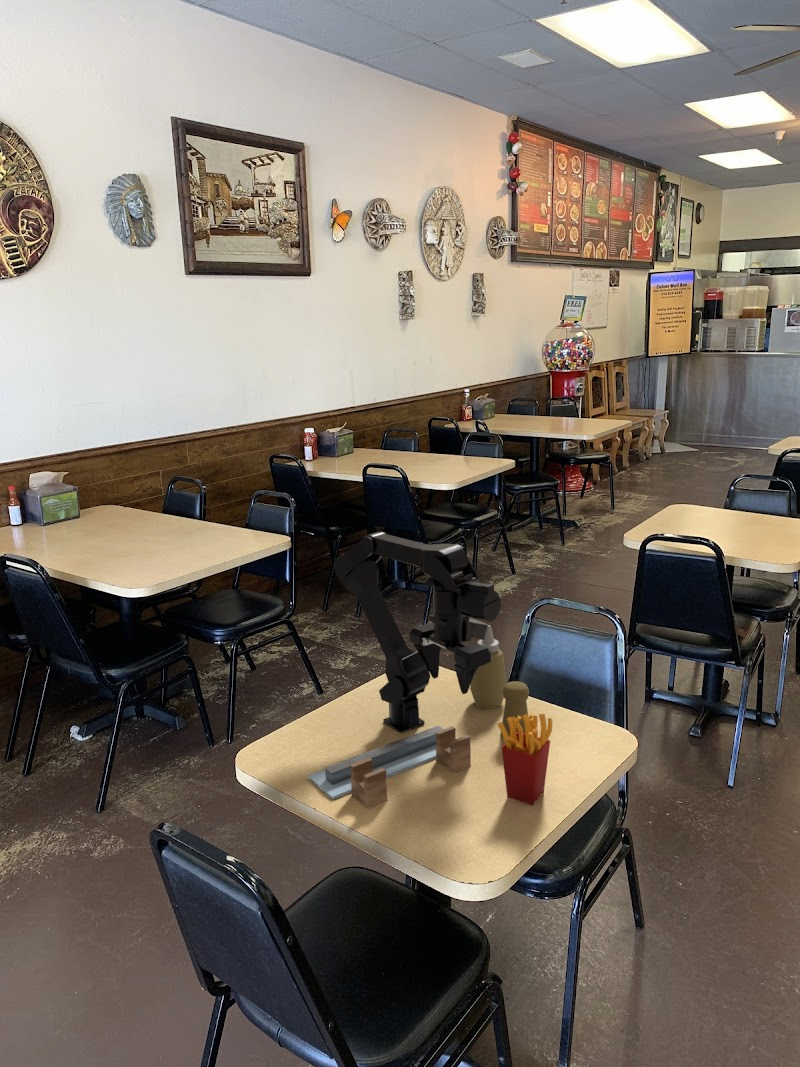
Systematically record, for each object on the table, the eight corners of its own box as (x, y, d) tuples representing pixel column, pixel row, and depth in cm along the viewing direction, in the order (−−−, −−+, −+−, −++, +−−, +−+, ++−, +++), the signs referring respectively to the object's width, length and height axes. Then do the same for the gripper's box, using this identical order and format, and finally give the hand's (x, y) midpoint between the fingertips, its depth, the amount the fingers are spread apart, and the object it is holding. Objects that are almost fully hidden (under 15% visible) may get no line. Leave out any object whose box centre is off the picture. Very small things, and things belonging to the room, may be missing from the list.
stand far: (436, 760, 152) (435, 732, 151) (452, 754, 155) (452, 726, 153) (454, 772, 148) (453, 743, 147) (470, 765, 150) (470, 736, 149)
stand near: (351, 795, 142) (350, 764, 141) (370, 787, 144) (369, 757, 143) (368, 808, 138) (366, 777, 136) (387, 800, 140) (386, 770, 138)
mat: (307, 778, 148) (307, 775, 148) (436, 729, 164) (436, 727, 164) (332, 799, 141) (332, 796, 141) (463, 747, 157) (463, 744, 157)
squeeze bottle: (510, 697, 178) (510, 621, 174) (502, 713, 171) (502, 634, 166) (475, 693, 181) (474, 618, 176) (466, 709, 173) (465, 631, 169)
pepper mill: (529, 727, 164) (530, 677, 162) (531, 741, 158) (532, 690, 156) (500, 726, 165) (500, 677, 162) (501, 741, 159) (500, 690, 156)
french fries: (536, 809, 136) (537, 729, 132) (492, 796, 140) (491, 718, 137) (555, 784, 143) (556, 708, 140) (512, 773, 147) (513, 698, 144)
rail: (332, 785, 144) (331, 773, 144) (325, 779, 146) (325, 767, 146) (445, 741, 159) (445, 730, 158) (438, 736, 160) (438, 725, 160)
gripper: (512, 613, 150) (512, 690, 154) (450, 590, 165) (451, 660, 169) (467, 627, 144) (468, 706, 148) (407, 601, 159) (409, 674, 163)
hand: (449, 685), depth 157 cm, fingers open, 9 cm apart
